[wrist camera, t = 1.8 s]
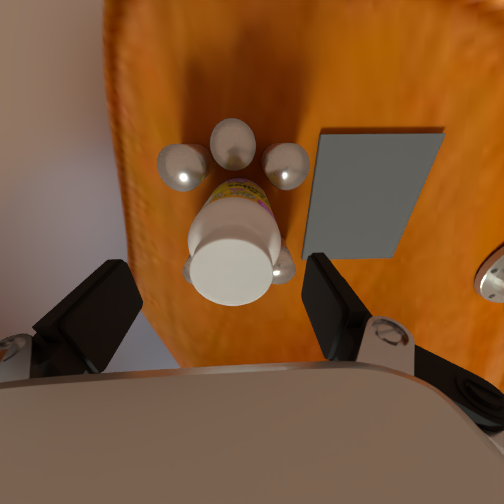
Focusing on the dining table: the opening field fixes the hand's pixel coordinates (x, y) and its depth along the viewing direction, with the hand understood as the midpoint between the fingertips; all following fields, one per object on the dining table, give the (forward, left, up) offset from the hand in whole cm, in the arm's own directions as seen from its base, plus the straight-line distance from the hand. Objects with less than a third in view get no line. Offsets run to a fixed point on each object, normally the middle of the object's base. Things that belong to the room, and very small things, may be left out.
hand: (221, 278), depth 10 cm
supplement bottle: (-1, 0, -13) cm, 13 cm away
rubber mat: (-15, 0, -13) cm, 20 cm away
